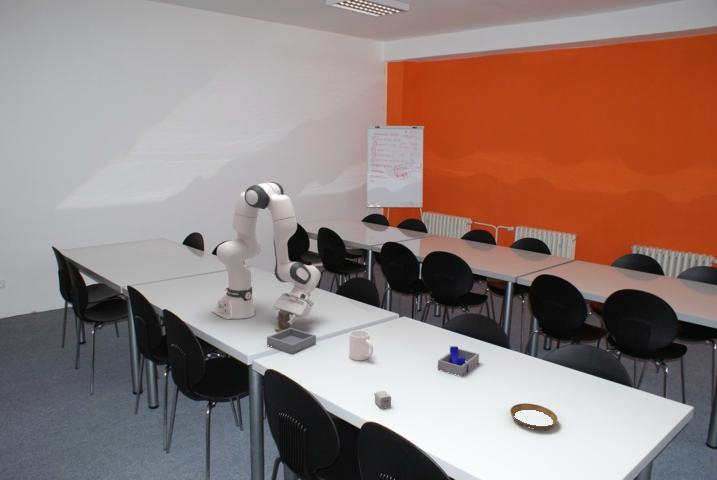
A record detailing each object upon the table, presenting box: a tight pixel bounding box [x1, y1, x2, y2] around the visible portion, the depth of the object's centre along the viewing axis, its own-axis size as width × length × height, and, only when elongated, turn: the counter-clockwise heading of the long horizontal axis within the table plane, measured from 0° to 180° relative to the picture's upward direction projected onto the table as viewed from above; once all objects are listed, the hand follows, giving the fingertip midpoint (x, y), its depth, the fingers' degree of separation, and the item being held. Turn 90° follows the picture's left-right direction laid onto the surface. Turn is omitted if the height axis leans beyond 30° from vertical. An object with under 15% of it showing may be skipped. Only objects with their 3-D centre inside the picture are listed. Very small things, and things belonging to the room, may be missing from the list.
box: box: [266, 327, 317, 355], centre depth 234 cm, size 15×15×4 cm
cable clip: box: [449, 345, 469, 373], centre depth 216 cm, size 12×4×6 cm, turn 5°
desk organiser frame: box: [437, 348, 480, 377], centre depth 216 cm, size 10×17×4 cm, turn 144°
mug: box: [348, 329, 374, 362], centre depth 221 cm, size 12×8×10 cm
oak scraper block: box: [274, 311, 293, 333], centre depth 251 cm, size 6×6×9 cm
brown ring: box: [509, 403, 558, 430], centre depth 176 cm, size 15×15×3 cm
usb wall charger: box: [373, 390, 392, 409], centre depth 185 cm, size 4×7×4 cm, turn 23°
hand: (282, 321), depth 250 cm, fingers open, 7 cm apart
